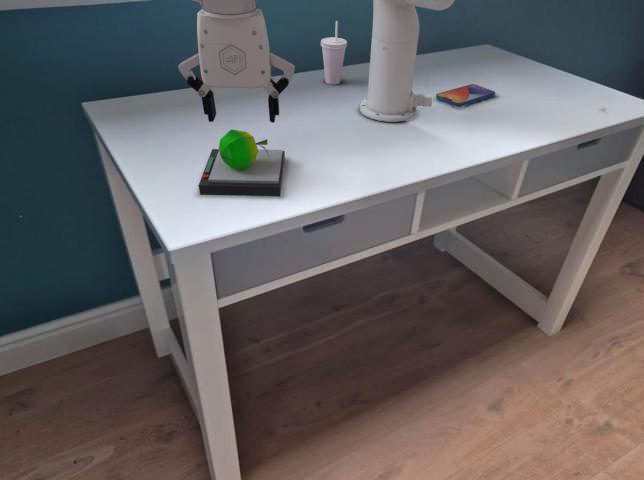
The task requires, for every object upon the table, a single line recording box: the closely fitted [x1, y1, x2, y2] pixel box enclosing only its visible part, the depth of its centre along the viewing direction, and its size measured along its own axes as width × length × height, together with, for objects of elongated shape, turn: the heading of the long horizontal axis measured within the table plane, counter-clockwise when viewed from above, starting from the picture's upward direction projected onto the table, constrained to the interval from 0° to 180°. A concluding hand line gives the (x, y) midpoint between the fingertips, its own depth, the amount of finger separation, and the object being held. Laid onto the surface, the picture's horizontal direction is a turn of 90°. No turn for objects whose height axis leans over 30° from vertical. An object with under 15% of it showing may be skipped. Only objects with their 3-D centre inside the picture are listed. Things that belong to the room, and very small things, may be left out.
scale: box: [198, 148, 286, 198], centre depth 86 cm, size 13×13×2 cm
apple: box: [218, 128, 270, 169], centre depth 83 cm, size 7×6×9 cm
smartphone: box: [435, 83, 496, 108], centre depth 120 cm, size 7×15×1 cm, turn 131°
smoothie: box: [319, 20, 348, 85], centre depth 120 cm, size 6×6×14 cm
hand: (242, 118), depth 80 cm, fingers open, 9 cm apart
